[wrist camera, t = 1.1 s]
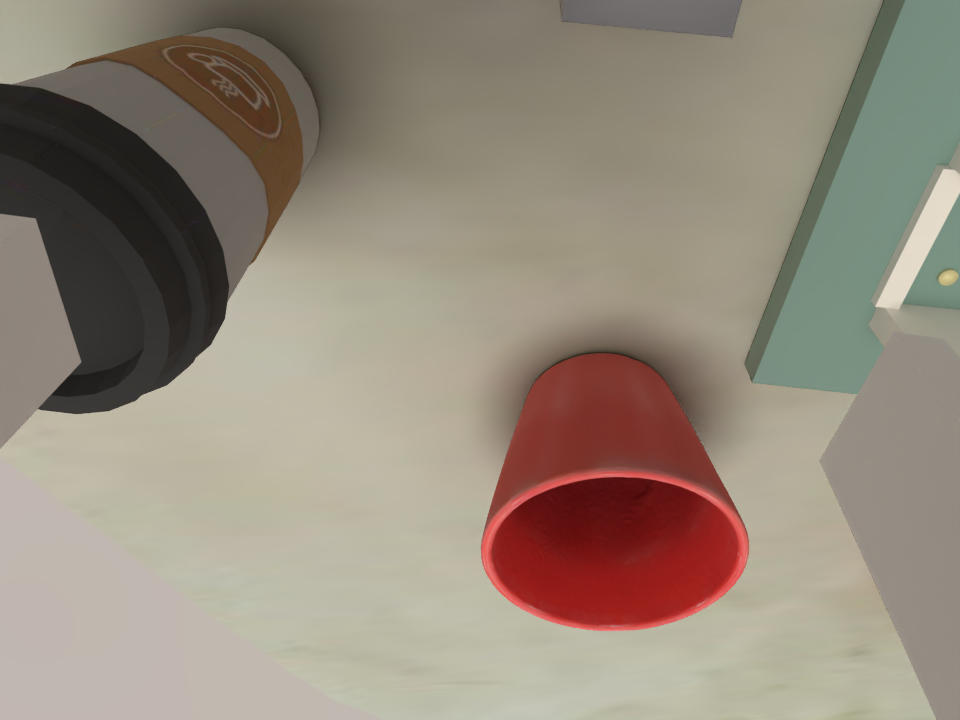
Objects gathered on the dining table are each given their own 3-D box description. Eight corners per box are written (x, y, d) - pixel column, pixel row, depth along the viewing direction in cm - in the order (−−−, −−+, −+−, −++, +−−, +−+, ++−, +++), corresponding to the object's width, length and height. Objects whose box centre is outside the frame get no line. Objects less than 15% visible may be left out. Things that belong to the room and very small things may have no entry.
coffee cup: (387, 105, 27) (257, 294, 15) (279, 240, 31) (109, 474, 19) (205, -59, 24) (-136, 15, 12) (112, 113, 28) (-213, 296, 16)
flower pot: (679, 489, 39) (712, 647, 31) (489, 470, 39) (474, 622, 31) (730, 337, 32) (787, 487, 24) (502, 317, 33) (488, 458, 25)
